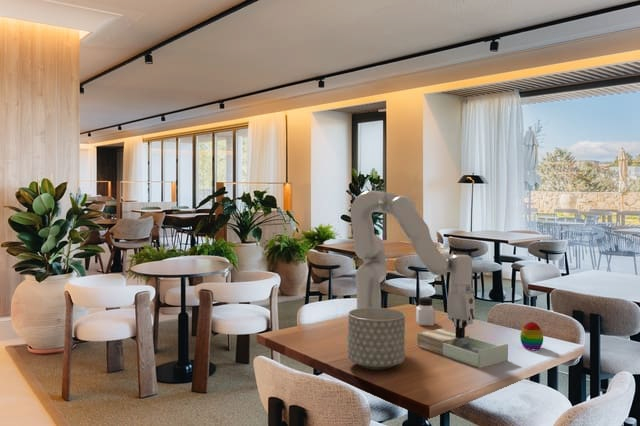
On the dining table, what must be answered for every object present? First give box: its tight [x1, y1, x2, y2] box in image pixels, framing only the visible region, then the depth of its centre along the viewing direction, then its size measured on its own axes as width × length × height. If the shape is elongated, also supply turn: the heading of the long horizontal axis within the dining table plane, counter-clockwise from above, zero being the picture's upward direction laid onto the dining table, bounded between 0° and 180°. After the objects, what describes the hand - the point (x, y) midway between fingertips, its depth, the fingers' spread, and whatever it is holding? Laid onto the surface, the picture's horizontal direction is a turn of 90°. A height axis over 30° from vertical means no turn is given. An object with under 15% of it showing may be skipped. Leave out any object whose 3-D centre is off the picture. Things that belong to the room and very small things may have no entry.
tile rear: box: [455, 337, 473, 348], centre depth 190 cm, size 5×5×2 cm
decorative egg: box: [519, 321, 544, 350], centre depth 198 cm, size 8×8×10 cm
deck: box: [417, 328, 470, 356], centre depth 198 cm, size 14×13×5 cm
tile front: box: [461, 346, 480, 354], centre depth 186 cm, size 5×5×2 cm
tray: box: [442, 336, 509, 369], centre depth 185 cm, size 15×17×6 cm
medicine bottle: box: [415, 296, 436, 326], centre depth 235 cm, size 7×7×12 cm
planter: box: [347, 307, 406, 371], centre depth 175 cm, size 19×19×18 cm
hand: (460, 337), depth 191 cm, fingers closed
